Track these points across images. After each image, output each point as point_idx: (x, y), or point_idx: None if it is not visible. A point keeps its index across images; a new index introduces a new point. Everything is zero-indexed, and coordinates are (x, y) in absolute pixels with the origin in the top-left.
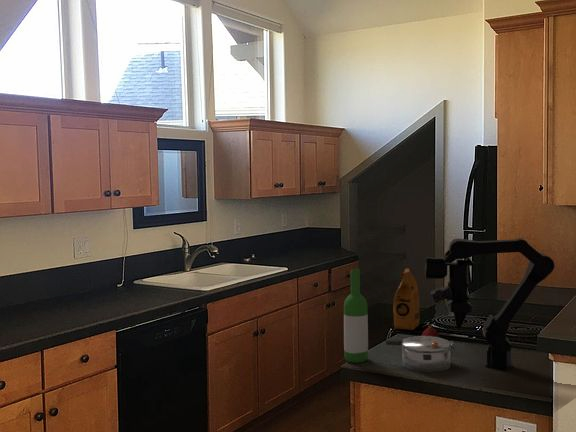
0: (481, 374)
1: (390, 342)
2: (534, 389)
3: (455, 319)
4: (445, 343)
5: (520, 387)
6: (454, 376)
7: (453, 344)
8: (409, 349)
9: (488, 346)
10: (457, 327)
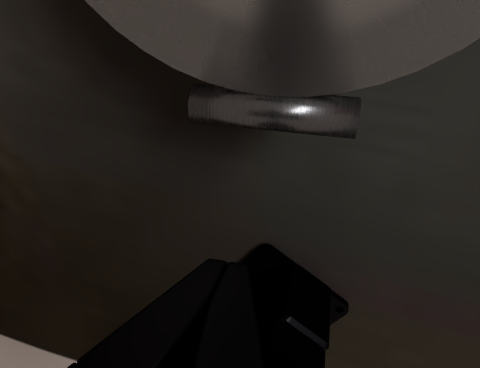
0: (148, 194)
1: None
2: (30, 318)
3: (86, 358)
4: (260, 39)
5: (33, 287)
6: (81, 45)
7: (223, 120)
8: None
9: (272, 348)
10: (201, 273)
